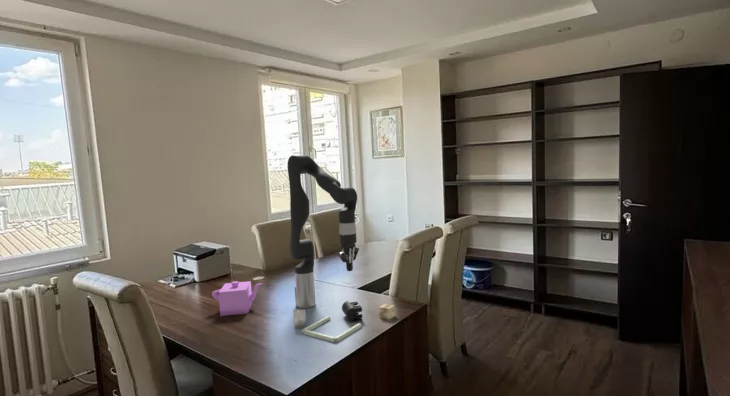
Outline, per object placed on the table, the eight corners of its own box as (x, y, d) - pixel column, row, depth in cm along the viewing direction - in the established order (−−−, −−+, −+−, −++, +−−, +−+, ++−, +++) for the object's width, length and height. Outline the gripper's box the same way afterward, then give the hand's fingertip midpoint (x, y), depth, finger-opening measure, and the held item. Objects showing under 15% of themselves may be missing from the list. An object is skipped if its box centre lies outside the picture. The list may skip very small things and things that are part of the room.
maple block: (379, 317, 180) (379, 307, 179) (385, 314, 184) (384, 303, 183) (389, 319, 177) (388, 308, 176) (394, 316, 181) (394, 305, 181)
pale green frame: (301, 333, 167) (301, 329, 167) (328, 319, 181) (328, 316, 181) (335, 342, 156) (335, 339, 156) (361, 327, 170) (361, 323, 170)
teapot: (263, 311, 194) (261, 283, 193) (209, 317, 191) (207, 288, 190) (266, 301, 209) (264, 275, 208) (216, 306, 206) (214, 279, 205)
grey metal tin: (292, 327, 174) (291, 311, 173) (300, 323, 178) (299, 308, 177) (300, 329, 171) (299, 313, 170) (308, 325, 175) (307, 309, 174)
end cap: (342, 315, 184) (341, 301, 184) (356, 313, 186) (356, 299, 186) (347, 323, 175) (346, 308, 174) (362, 321, 177) (362, 306, 176)
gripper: (349, 229, 185) (351, 266, 186) (331, 234, 174) (333, 273, 175) (363, 230, 180) (365, 268, 182) (345, 235, 170) (347, 275, 171)
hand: (349, 270), depth 179 cm, fingers closed
